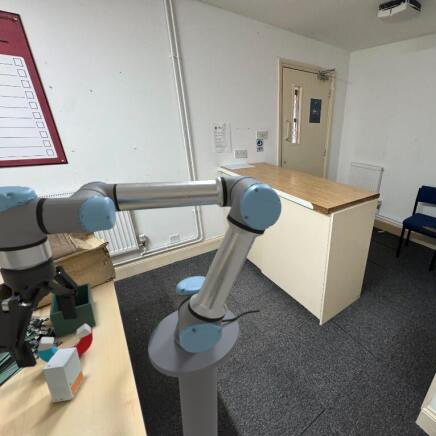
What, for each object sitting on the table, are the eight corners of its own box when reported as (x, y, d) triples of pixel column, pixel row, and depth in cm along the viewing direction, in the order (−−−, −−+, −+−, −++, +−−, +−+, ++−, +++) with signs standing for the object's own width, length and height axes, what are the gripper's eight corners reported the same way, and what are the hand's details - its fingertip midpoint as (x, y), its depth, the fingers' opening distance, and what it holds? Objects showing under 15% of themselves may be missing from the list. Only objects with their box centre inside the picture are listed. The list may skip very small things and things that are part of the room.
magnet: (43, 371, 68) (34, 345, 64) (45, 364, 70) (36, 338, 66) (96, 351, 75) (90, 327, 72) (95, 345, 77) (90, 321, 74)
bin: (95, 325, 84) (90, 303, 81) (56, 338, 78) (49, 315, 75) (94, 303, 94) (89, 282, 91) (59, 313, 88) (52, 291, 84)
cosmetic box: (72, 399, 62) (62, 367, 58) (52, 403, 61) (41, 370, 57) (85, 377, 67) (76, 346, 63) (67, 380, 66) (57, 348, 62)
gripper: (50, 236, 59) (68, 304, 66) (-71, 303, 36) (-23, 396, 43) (85, 236, 61) (99, 302, 68) (-10, 300, 38) (26, 390, 45)
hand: (51, 339), depth 55 cm, fingers open, 13 cm apart
